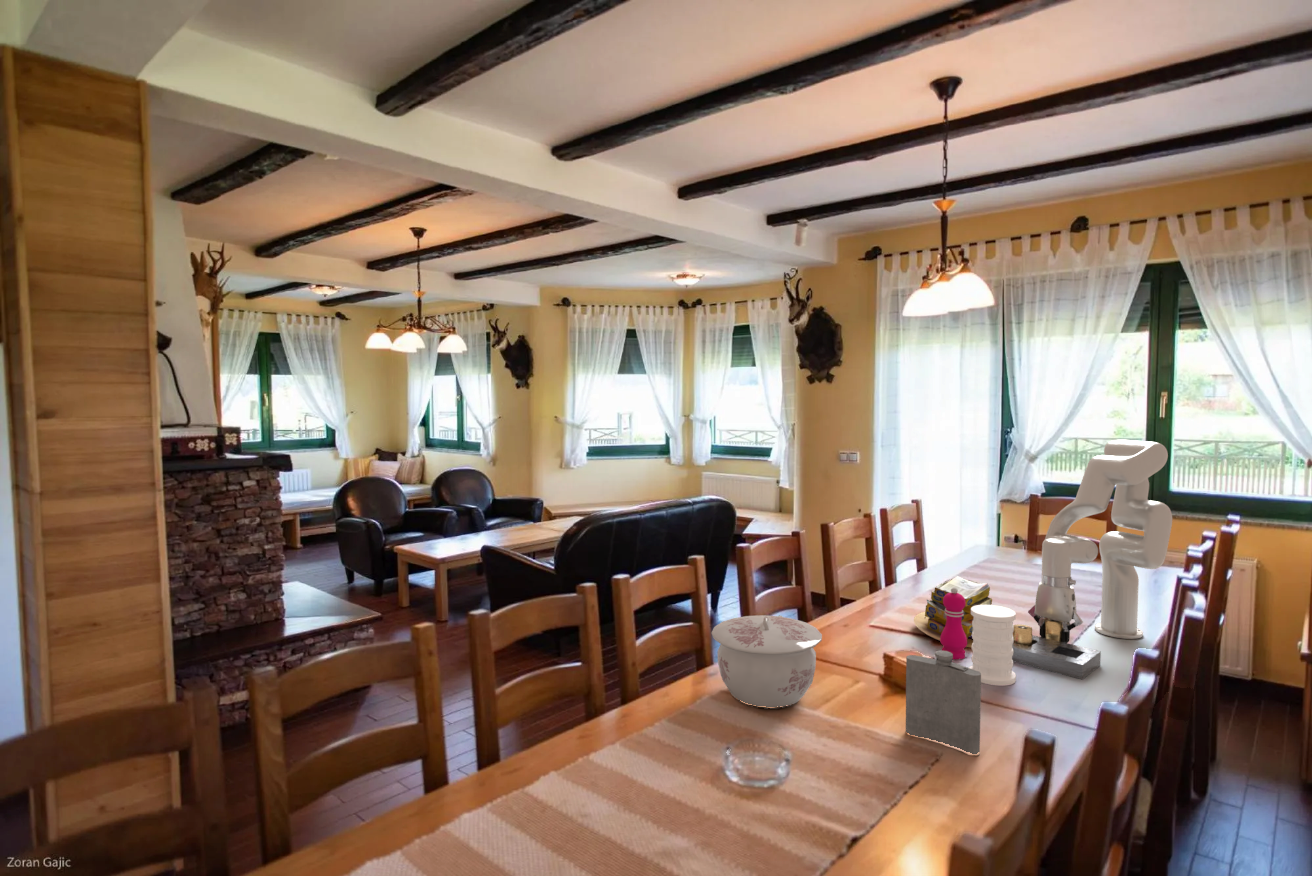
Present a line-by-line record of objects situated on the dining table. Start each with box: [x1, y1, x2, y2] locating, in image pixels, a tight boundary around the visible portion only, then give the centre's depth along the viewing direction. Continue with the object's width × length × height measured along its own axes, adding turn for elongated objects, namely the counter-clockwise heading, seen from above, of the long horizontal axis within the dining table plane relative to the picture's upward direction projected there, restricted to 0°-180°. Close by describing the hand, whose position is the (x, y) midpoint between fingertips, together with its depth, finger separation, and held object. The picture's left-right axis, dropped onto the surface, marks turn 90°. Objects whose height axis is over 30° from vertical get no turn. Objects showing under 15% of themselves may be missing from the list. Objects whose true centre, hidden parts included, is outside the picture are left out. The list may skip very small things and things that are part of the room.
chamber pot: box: [711, 614, 823, 707], centre depth 181 cm, size 28×28×21 cm
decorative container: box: [968, 604, 1017, 687], centre depth 192 cm, size 12×12×18 cm
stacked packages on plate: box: [913, 575, 993, 648], centre depth 225 cm, size 25×25×17 cm
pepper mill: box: [939, 588, 967, 661], centre depth 207 cm, size 7×7×20 cm
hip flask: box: [905, 650, 982, 754], centre depth 157 cm, size 16×4×20 cm, turn 47°
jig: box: [1012, 623, 1102, 681], centre depth 203 cm, size 14×24×8 cm, turn 41°
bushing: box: [1045, 618, 1063, 642], centre depth 213 cm, size 5×5×8 cm
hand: (1054, 640), depth 213 cm, fingers closed on bushing, 5 cm apart
